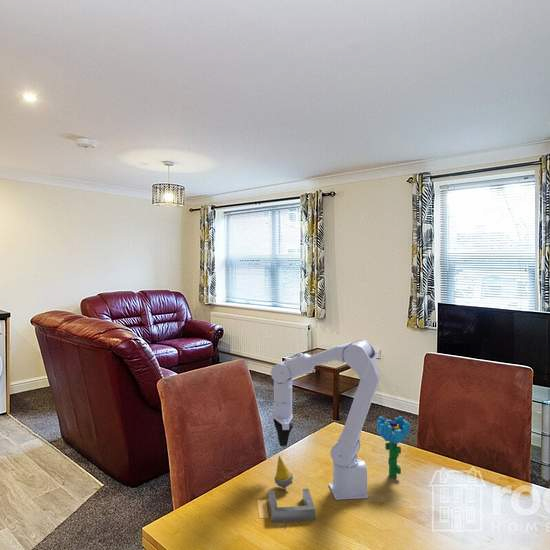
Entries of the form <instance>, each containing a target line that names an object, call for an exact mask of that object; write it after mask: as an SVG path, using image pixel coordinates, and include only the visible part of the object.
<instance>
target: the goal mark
mask: <svg viewBox="0 0 550 550" xmlns="http://www.w3.org/2000/svg"><path fill="white" fill-rule="evenodd" d="M257 510H258V519H268V518H269V514H268V513H269V512H268V506H267V499H257Z"/></svg>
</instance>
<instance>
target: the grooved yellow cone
mask: <svg viewBox="0 0 550 550" xmlns="http://www.w3.org/2000/svg"><path fill="white" fill-rule="evenodd" d="M293 479H294V477H293V473H292V472H290V470H289V469H288V467H287V466H286V463H285V462H284V460H283V459H282V457H281V456H280V455H278V458H277V466H276V473H275V476H274V483H275V484H276V485H277V486H278V487H280V488H282V489H285V490H286V489H287V487H289V486H290V485H292V484H293Z"/></svg>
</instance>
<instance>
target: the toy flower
mask: <svg viewBox="0 0 550 550" xmlns="http://www.w3.org/2000/svg"><path fill="white" fill-rule="evenodd" d="M376 423H377V424H376V426H377V428H376V430H377V433H378V435H379V436H381V438H382V439H383V440H384V441H385V442H386V443H385V445H384V446H385V450H386V451H388V461H387V462H388V476H389V478H390V479H397V478H398V477H397V476H398V475H401V474H402V473H401V470H402V469H401V466H400V465H398V457H400V454H401V455H402V448H401V446H398V444H400V443H401V442H403V441H404V439H405V438H407V436H408V435H409V434H410V433H411V424H410V423H409V421H407V420H406V419H403V416H401V415H398V417H394V420H392V419H385V417H384V416H379V417H378V420H377V422H376Z"/></svg>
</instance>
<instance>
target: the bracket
mask: <svg viewBox="0 0 550 550" xmlns="http://www.w3.org/2000/svg"><path fill="white" fill-rule="evenodd" d="M302 502H303V505H298V506H297V505H296V506H281V507H280V506H279V507H278V503H277V497H276V491H275V490H273V489H272V490H268V505H269V506H268V507H269V513H270V521H271V523H272V524H274V523H291V522H294V523H295V522H306V521H316V508H315V505H314V501H313V498H312V496H311V492H310V490H309V488H302Z"/></svg>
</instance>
